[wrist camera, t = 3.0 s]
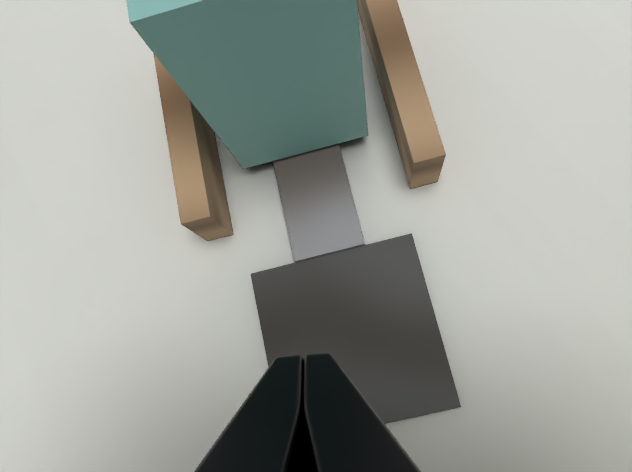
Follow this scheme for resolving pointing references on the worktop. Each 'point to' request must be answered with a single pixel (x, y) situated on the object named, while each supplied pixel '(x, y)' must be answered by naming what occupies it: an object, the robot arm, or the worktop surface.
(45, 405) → the worktop surface
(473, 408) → the worktop surface
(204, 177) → the channel
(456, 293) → the worktop surface
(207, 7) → the block
